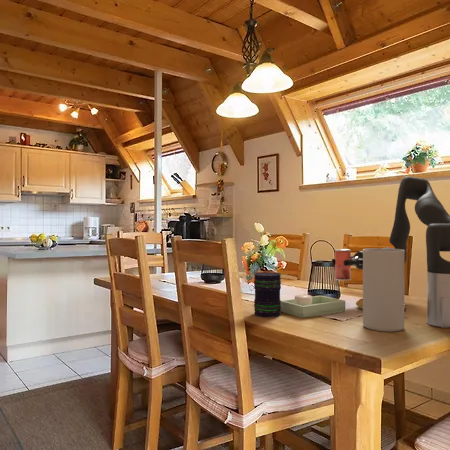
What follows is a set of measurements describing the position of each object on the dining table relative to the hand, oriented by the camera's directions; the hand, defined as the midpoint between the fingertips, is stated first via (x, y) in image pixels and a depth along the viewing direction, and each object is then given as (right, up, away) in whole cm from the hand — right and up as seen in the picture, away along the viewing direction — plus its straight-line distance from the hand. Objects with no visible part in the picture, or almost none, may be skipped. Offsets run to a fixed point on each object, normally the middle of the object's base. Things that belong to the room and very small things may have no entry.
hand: (338, 262), depth 172 cm
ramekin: (-16, -16, -11) cm, 25 cm away
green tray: (-12, -18, -9) cm, 23 cm away
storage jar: (-30, -18, -14) cm, 37 cm away
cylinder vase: (+6, -18, -33) cm, 38 cm away
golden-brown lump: (+13, -18, -9) cm, 24 cm away
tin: (+2, -7, +1) cm, 7 cm away
